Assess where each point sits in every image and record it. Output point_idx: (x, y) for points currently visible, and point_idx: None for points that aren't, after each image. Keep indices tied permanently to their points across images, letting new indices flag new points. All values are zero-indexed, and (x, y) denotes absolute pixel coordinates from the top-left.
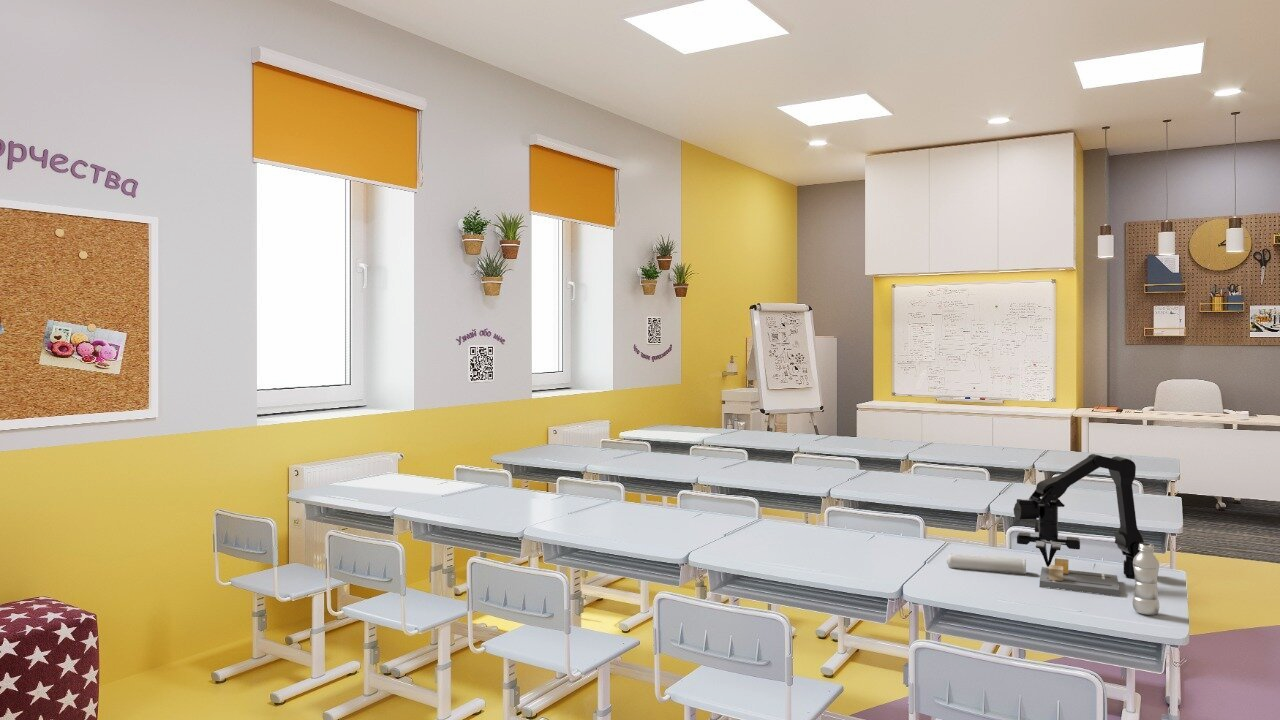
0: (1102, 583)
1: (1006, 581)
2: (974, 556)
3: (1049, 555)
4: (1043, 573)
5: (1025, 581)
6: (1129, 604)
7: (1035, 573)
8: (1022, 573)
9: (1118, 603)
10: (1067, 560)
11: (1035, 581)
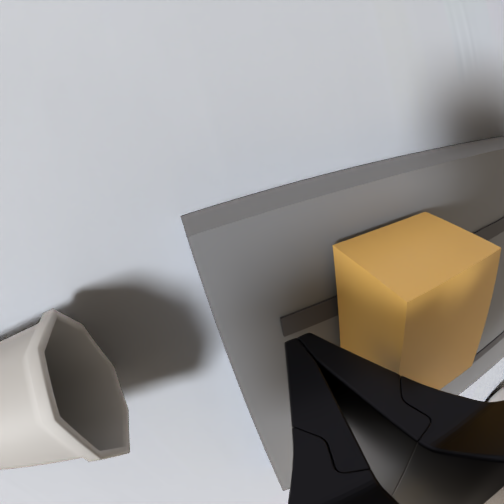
0: (500, 325)
1: (129, 491)
2: None
3: (376, 477)
4: (270, 413)
5: (189, 458)
6: (490, 376)
7: (144, 276)
8: (96, 383)
9: (473, 391)
10: (488, 291)
11: (229, 433)
